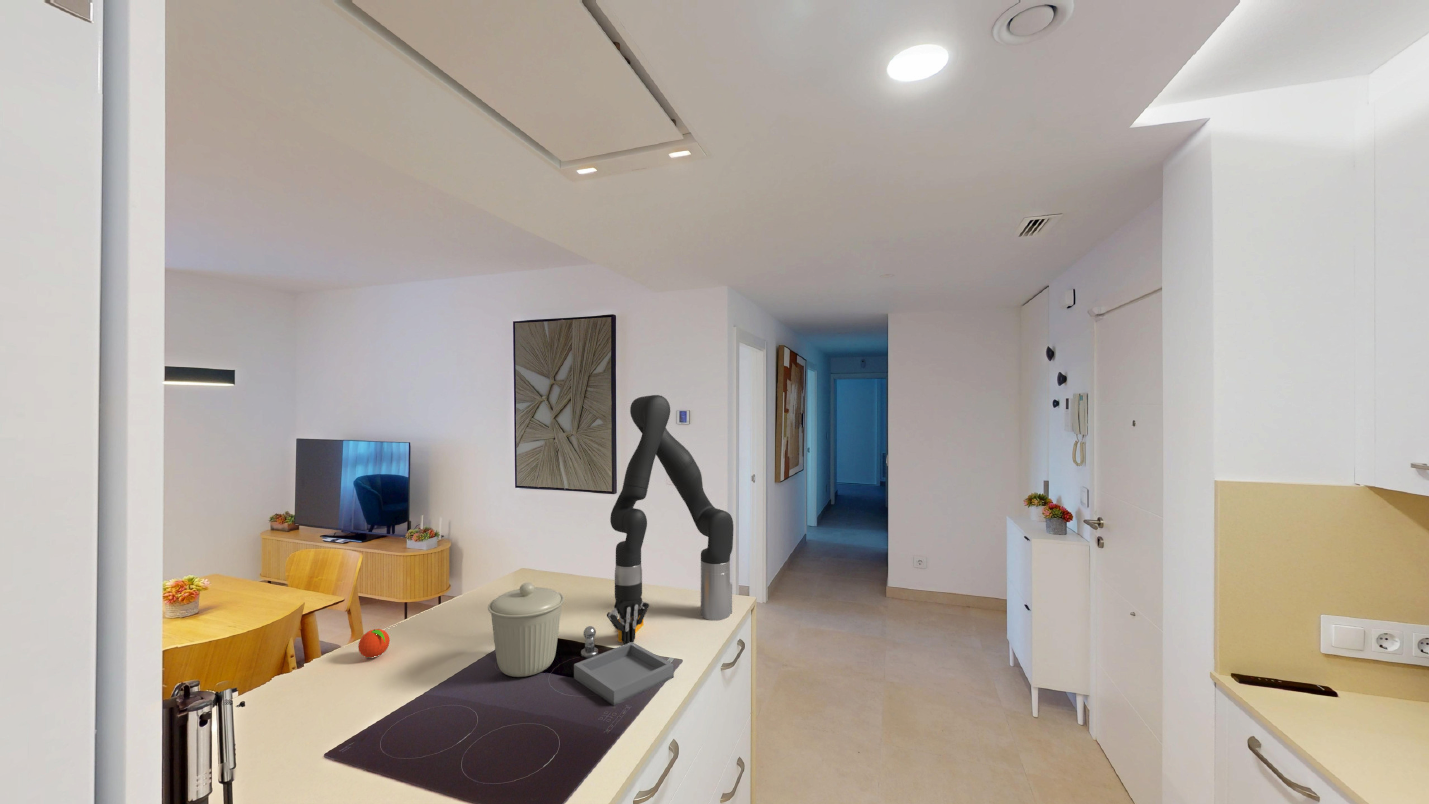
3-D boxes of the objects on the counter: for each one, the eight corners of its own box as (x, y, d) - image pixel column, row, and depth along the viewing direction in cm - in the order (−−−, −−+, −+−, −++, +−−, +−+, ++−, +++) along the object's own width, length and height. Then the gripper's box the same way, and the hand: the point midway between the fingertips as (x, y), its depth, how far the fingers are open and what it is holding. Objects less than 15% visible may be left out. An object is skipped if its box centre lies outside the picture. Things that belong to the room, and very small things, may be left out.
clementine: (398, 654, 140) (398, 627, 140) (371, 666, 134) (371, 637, 134) (378, 648, 144) (379, 622, 144) (352, 659, 137) (352, 632, 137)
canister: (578, 656, 139) (578, 576, 139) (533, 691, 122) (533, 600, 122) (521, 646, 145) (521, 569, 145) (471, 678, 128) (471, 591, 128)
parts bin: (631, 655, 140) (631, 641, 140) (673, 678, 128) (673, 664, 128) (574, 678, 128) (574, 664, 128) (614, 707, 116) (614, 691, 116)
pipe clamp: (630, 624, 160) (630, 602, 160) (643, 625, 159) (643, 604, 159) (612, 641, 148) (612, 618, 148) (626, 643, 147) (626, 619, 147)
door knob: (592, 648, 144) (592, 621, 144) (601, 653, 140) (601, 626, 140) (577, 653, 140) (578, 626, 140) (586, 659, 137) (586, 631, 137)
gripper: (640, 571, 154) (639, 631, 154) (600, 582, 145) (599, 645, 145) (656, 577, 149) (656, 639, 149) (615, 589, 139) (615, 655, 139)
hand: (628, 642), depth 147 cm, fingers closed
